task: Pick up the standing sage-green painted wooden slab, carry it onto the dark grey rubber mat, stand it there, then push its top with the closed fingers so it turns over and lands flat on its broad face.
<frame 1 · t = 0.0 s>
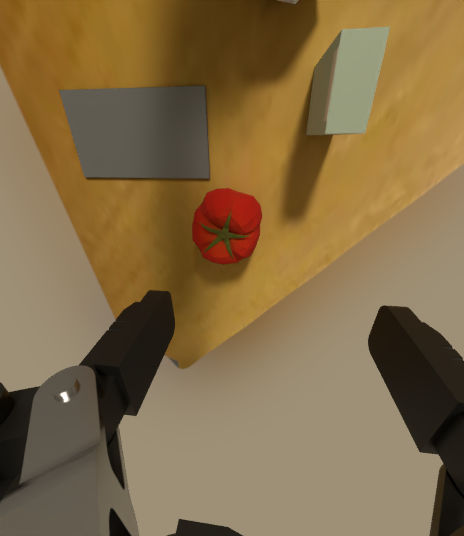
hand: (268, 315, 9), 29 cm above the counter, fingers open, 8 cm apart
mat: (139, 136, 33), on the counter
tomato: (232, 217, 38), on the counter
slab: (324, 102, 29), on the counter
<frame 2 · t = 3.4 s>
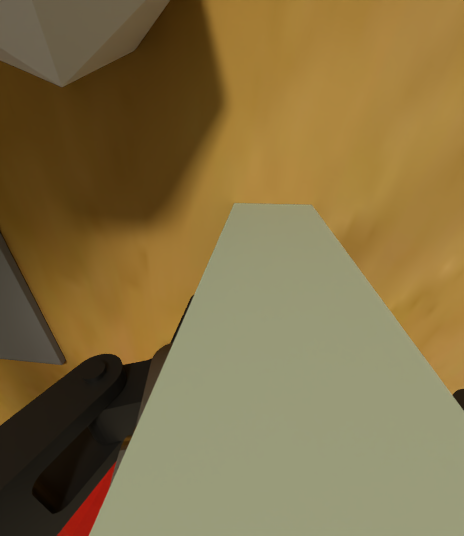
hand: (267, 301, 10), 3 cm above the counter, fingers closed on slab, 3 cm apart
tomato: (124, 406, 21), on the counter
slab: (267, 270, 12), on the counter, touching gripper
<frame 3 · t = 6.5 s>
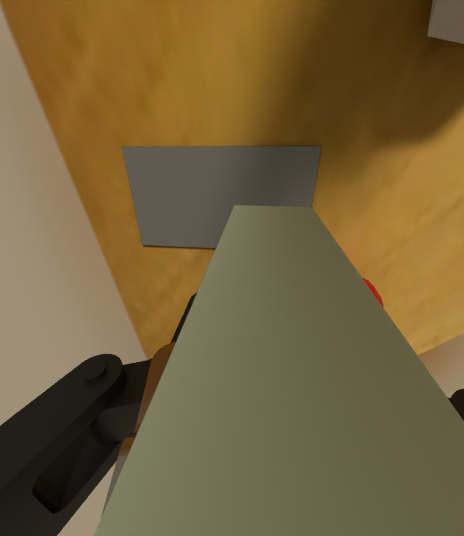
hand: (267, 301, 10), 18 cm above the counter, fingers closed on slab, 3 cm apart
mat: (219, 201, 26), on the counter
slab: (267, 271, 12), point 15 cm above the counter, touching gripper
when the fingers open (4 cm above the counter, at t = 9.7 s): slab stays where it is, resting on mat.
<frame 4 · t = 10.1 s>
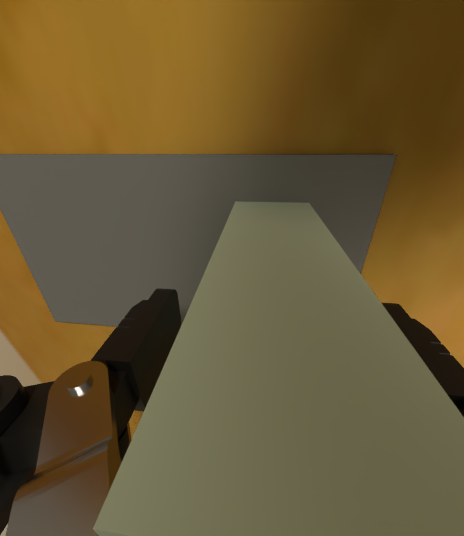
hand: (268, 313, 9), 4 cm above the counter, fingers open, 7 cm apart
mat: (180, 258, 14), on the counter
slab: (266, 266, 13), resting on mat
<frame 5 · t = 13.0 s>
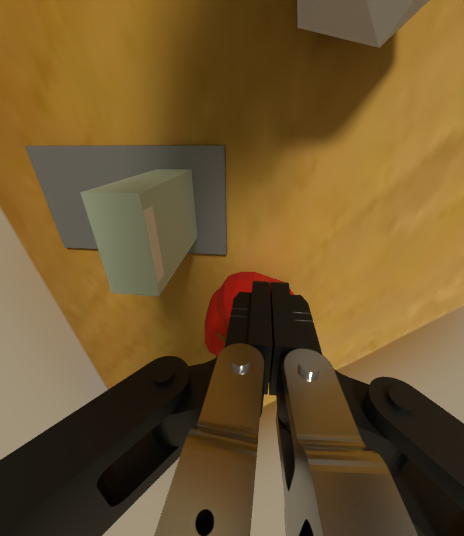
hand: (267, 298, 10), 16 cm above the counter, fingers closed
mat: (134, 203, 25), on the counter
tomato: (253, 295, 30), on the counter
slab: (178, 205, 24), resting on mat
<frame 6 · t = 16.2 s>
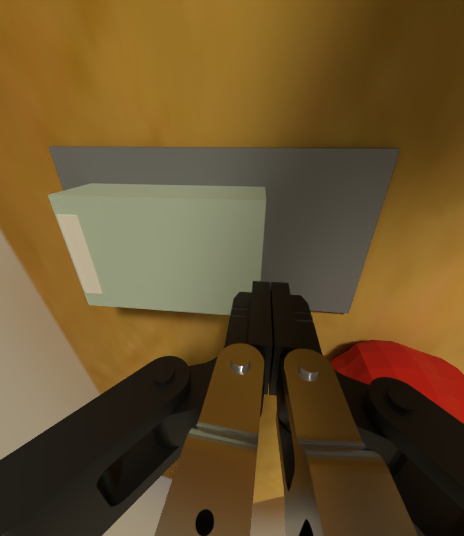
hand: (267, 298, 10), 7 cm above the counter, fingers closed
mat: (215, 236, 16), on the counter
tomato: (368, 363, 21), on the counter
slab: (261, 252, 14), point 2 cm above the counter, tilted 90°, touching mat
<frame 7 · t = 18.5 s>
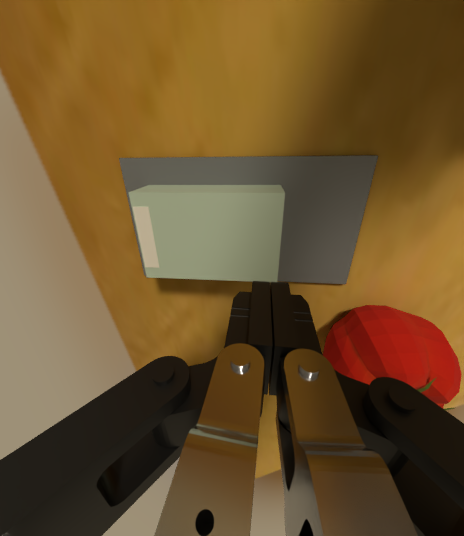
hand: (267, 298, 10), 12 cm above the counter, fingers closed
mat: (241, 224, 21), on the counter
tomato: (363, 329, 25), on the counter
slab: (279, 233, 19), point 2 cm above the counter, tilted 90°, touching mat
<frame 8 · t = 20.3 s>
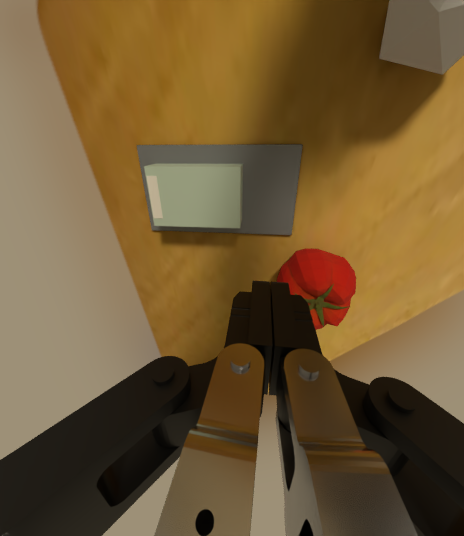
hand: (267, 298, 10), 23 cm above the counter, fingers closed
mat: (218, 191, 31), on the counter
tomato: (308, 271, 35), on the counter
die: (416, 21, 22), on the counter
slab: (241, 196, 29), point 2 cm above the counter, tilted 90°, touching mat
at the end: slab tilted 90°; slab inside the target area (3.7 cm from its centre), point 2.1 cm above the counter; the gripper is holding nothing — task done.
